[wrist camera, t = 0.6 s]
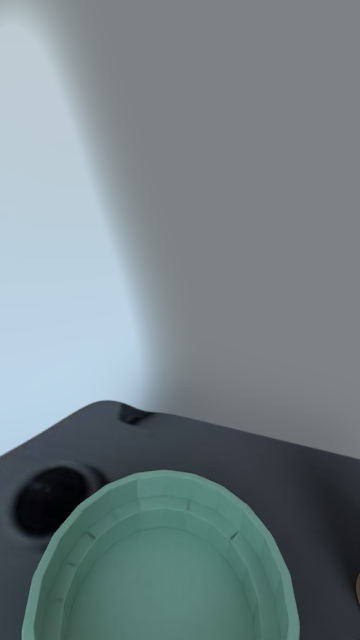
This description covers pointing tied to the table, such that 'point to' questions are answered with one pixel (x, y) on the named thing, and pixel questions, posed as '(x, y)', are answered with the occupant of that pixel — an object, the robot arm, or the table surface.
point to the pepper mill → (358, 588)
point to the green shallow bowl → (162, 568)
